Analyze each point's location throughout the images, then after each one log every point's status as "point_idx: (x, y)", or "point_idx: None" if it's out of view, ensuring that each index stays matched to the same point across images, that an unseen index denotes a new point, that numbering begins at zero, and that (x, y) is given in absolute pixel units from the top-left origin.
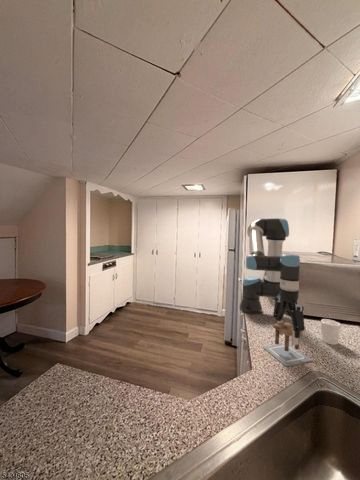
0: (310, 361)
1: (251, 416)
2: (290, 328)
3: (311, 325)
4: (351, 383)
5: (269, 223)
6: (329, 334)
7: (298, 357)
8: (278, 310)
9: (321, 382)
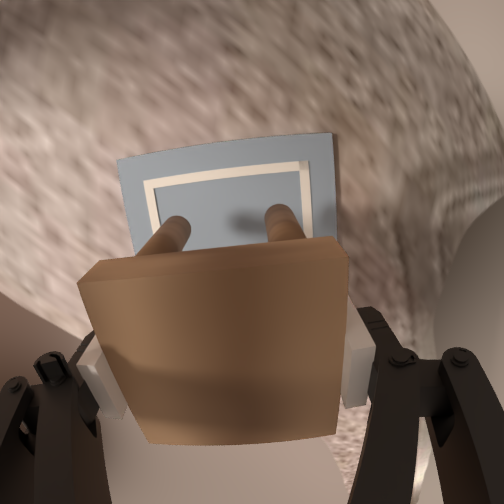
0: (331, 148)
1: (423, 453)
2: (275, 376)
3: None
4: (486, 111)
5: None
6: None
7: (289, 202)
8: (13, 473)
9: (455, 236)
